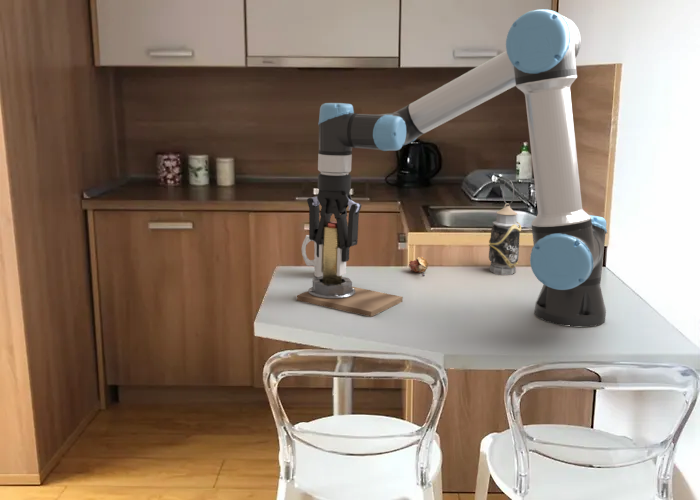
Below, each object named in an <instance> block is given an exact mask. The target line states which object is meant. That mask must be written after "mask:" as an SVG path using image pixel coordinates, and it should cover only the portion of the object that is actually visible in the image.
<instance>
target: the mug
mask: <svg viewBox="0 0 700 500" xmlns="http://www.w3.org/2000/svg"><path fill="white" fill-rule="evenodd" d="M310 242H314V243H313V244H314V246H313V247H314V250H313V251H314V257H313V258H314V259H309V258H308V256H307V252H306V250H307V249H306V248H307V245H308V244H309V243H310ZM316 253H317V244H316V242H315V241H313V240H310V239H309V234H306V235H305V237H304V239H303V241H302V244H301V255H302V258H303V261H304V263H305V265H306V266H307V267H314V276H315V278H317V277H320V276H323V272H322V273H321V272H319V257H317V255H316Z"/></svg>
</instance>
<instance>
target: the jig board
mask: <svg viewBox="0 0 700 500" xmlns="http://www.w3.org/2000/svg"><path fill="white" fill-rule="evenodd" d="M352 288H354V289H355V291H356V292H355V295H354V296H352V297H348V298H343V299H324V298H318V297H314V296H312V295H310V294H309V292H308V290H306V291H303V292H302V293H299V294H297V295H296V301H298V302H303V303H307V304H312V305H317V306H321V307H326V308H330V309H334V310H338V311H339V310H340V311H343V312H348V313H353V314H357V315H362V316H366V317H374V316H376V315H378V314H380V313H382V312H385V311H387V310H389V309H390V308H392V307H395V306H397V305H399V304H401V303H403V299H404V298H403V296H401V295H396V294H389V293H385V292H380V291H375V290H372V289H365V288H361V287H355V286H352Z"/></svg>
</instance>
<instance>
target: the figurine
mask: <svg viewBox="0 0 700 500" xmlns="http://www.w3.org/2000/svg"><path fill="white" fill-rule="evenodd" d="M407 264H408V267H409V270H410V272H415V273H420V274H421V276H422V277H425V273H426V271H427V270H428V269H429V262H428V260H427V259H425V258H424V256H421V257H420V256H418V257H417V258H416V259H414V260H411V259H409V260H408V263H407ZM423 272H424V273H423Z"/></svg>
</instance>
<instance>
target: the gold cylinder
mask: <svg viewBox="0 0 700 500" xmlns="http://www.w3.org/2000/svg"><path fill="white" fill-rule="evenodd" d="M339 246H340V239H339V233H338V227H337V221H331V220H330V222H327V226H324V244H323V283H325V284H341V283H342V277H343V275H341V276H337V248H339Z"/></svg>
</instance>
